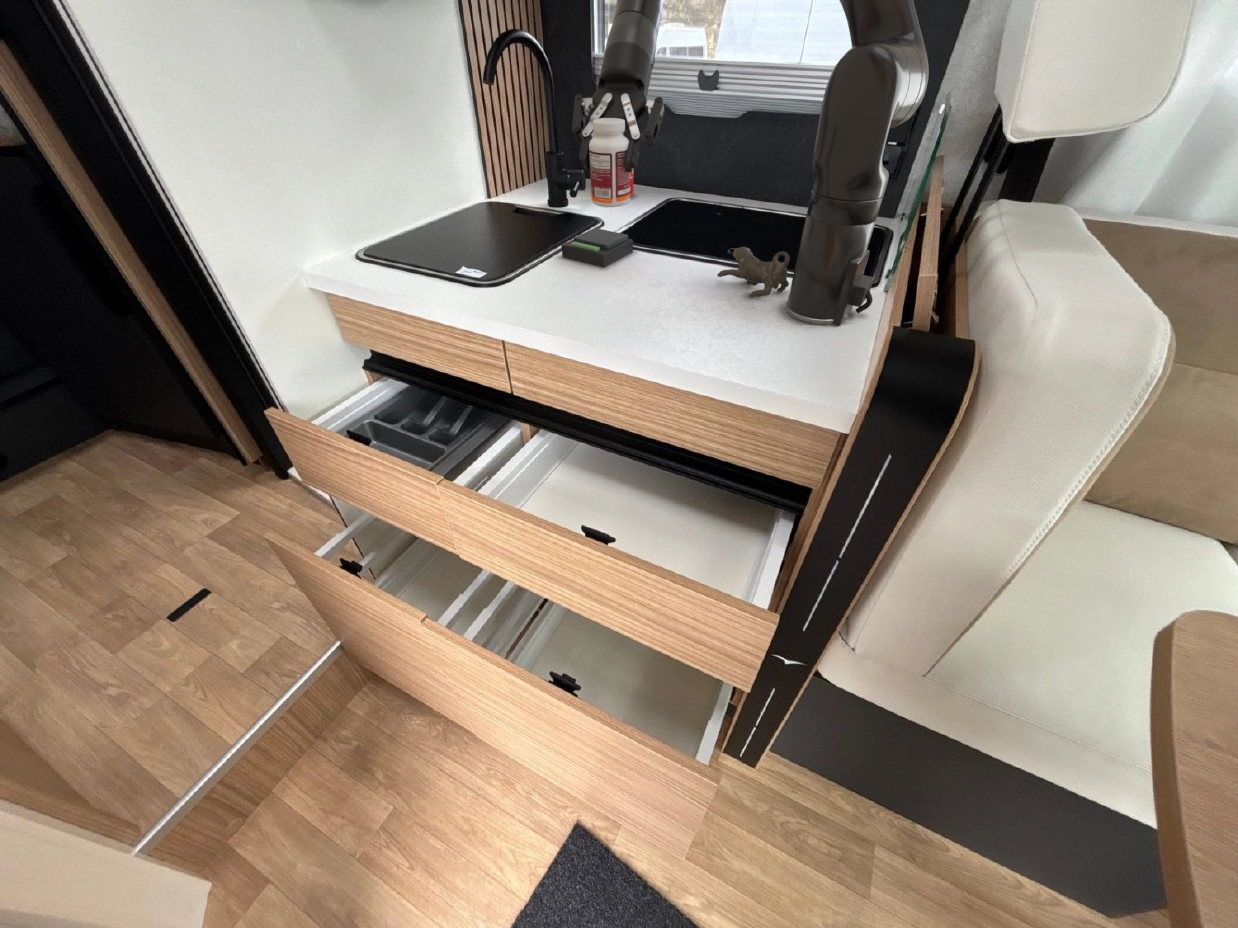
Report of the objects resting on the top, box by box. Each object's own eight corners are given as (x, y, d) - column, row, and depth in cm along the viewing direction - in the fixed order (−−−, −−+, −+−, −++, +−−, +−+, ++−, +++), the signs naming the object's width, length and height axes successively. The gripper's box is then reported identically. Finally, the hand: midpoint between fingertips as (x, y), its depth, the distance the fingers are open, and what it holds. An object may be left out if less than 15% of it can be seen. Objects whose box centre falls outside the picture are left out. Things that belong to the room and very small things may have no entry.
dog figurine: (791, 295, 86) (801, 250, 81) (770, 305, 83) (779, 258, 78) (736, 274, 93) (742, 231, 88) (714, 283, 90) (719, 239, 85)
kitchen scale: (633, 252, 102) (633, 235, 100) (603, 268, 96) (603, 250, 94) (592, 243, 106) (591, 226, 104) (562, 257, 100) (560, 240, 98)
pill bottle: (624, 196, 85) (624, 116, 77) (634, 206, 80) (635, 123, 73) (587, 198, 84) (584, 118, 76) (595, 210, 79) (593, 125, 72)
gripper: (576, 39, 76) (553, 148, 75) (672, 39, 72) (649, 154, 72) (590, 79, 83) (569, 179, 82) (677, 82, 80) (656, 186, 79)
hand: (606, 167), depth 77 cm, fingers closed on pill bottle, 6 cm apart
